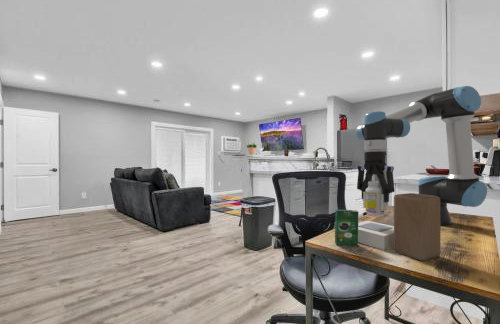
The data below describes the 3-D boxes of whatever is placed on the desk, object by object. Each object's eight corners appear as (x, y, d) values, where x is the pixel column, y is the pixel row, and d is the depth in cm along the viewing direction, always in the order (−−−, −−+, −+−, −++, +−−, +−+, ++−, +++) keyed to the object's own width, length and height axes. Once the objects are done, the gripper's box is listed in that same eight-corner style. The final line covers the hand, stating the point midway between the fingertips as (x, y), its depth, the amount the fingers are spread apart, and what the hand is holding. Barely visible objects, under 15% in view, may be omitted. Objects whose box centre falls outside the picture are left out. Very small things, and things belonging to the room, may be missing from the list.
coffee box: (356, 243, 93) (356, 209, 93) (358, 246, 90) (358, 210, 90) (334, 242, 94) (334, 208, 94) (336, 245, 91) (336, 210, 91)
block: (422, 262, 76) (422, 198, 76) (392, 251, 85) (392, 194, 85) (441, 257, 80) (441, 196, 80) (411, 247, 89) (411, 192, 89)
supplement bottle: (379, 212, 100) (379, 180, 100) (387, 215, 94) (387, 182, 94) (362, 211, 101) (362, 180, 101) (369, 215, 94) (369, 182, 94)
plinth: (367, 231, 108) (367, 219, 108) (406, 241, 95) (406, 228, 95) (344, 238, 100) (344, 225, 100) (384, 250, 86) (384, 235, 86)
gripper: (347, 151, 103) (347, 206, 103) (395, 150, 87) (395, 214, 87) (357, 152, 107) (357, 204, 108) (405, 150, 91) (405, 212, 91)
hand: (374, 208), depth 97 cm, fingers closed on supplement bottle, 7 cm apart
